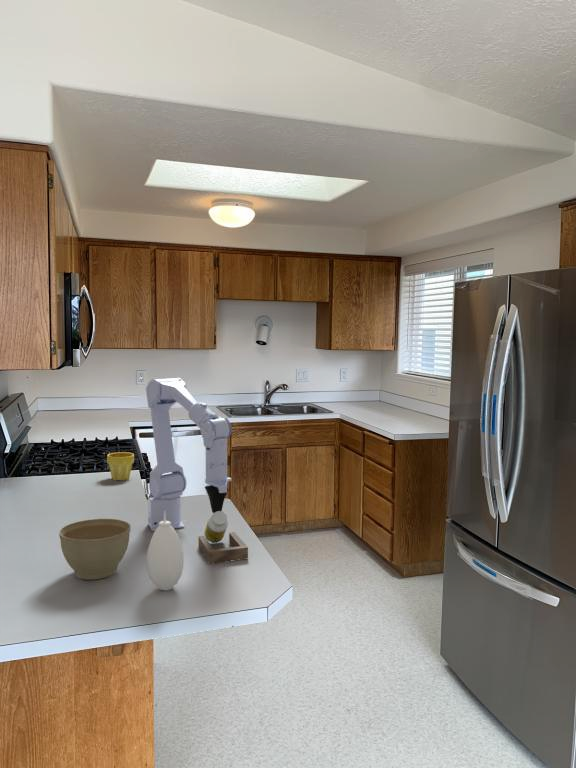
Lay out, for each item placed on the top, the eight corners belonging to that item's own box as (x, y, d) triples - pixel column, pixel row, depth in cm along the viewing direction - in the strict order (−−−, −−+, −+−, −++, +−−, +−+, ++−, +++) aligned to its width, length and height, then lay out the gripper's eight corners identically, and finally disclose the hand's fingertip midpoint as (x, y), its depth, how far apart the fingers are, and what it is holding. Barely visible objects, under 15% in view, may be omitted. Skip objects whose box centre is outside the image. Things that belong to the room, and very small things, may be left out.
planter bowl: (132, 582, 134) (131, 536, 133) (57, 590, 129) (55, 542, 128) (130, 556, 149) (129, 515, 148) (63, 563, 145) (62, 520, 144)
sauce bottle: (166, 599, 125) (165, 517, 124) (140, 591, 129) (139, 511, 128) (190, 586, 132) (189, 508, 130) (165, 578, 136) (164, 503, 134)
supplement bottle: (226, 531, 163) (233, 514, 156) (217, 546, 159) (224, 530, 152) (209, 522, 163) (215, 505, 156) (200, 537, 159) (206, 520, 152)
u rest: (209, 564, 145) (209, 552, 144) (198, 547, 156) (198, 536, 156) (247, 558, 148) (247, 547, 148) (234, 542, 160) (234, 531, 160)
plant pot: (140, 477, 232) (139, 453, 232) (119, 483, 224) (119, 458, 223) (122, 474, 238) (121, 450, 237) (101, 479, 229) (101, 455, 228)
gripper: (238, 467, 151) (238, 518, 152) (223, 456, 164) (224, 503, 165) (211, 469, 148) (212, 521, 149) (199, 458, 162) (199, 506, 163)
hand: (216, 512), depth 157 cm, fingers closed
